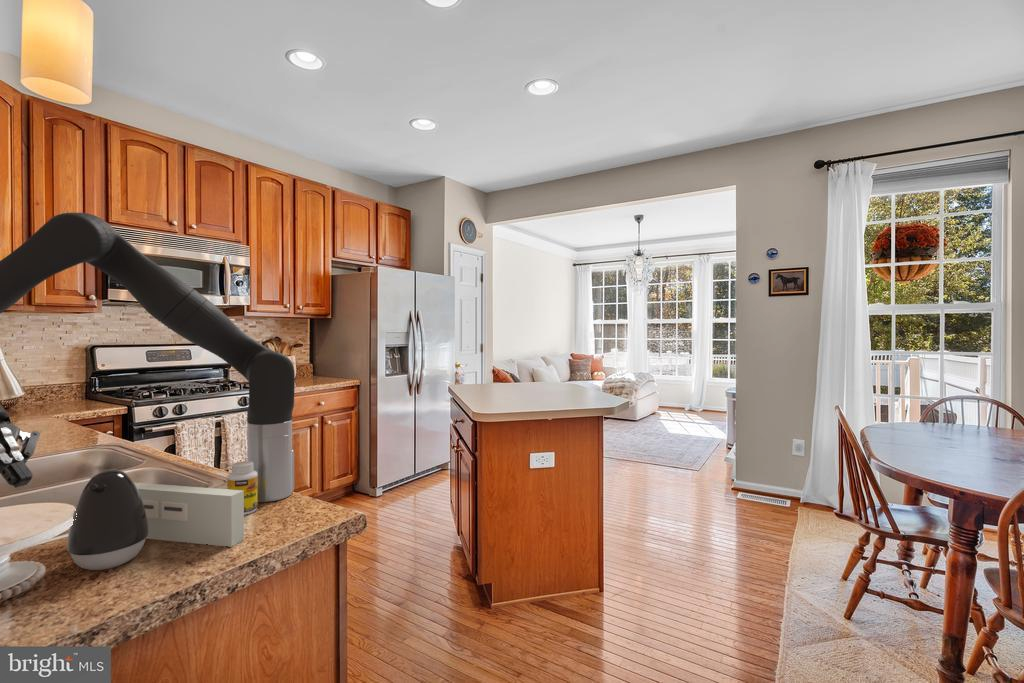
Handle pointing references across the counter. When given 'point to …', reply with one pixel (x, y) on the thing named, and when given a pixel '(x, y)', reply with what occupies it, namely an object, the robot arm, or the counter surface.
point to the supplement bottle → (244, 484)
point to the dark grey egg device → (107, 522)
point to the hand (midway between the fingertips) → (24, 483)
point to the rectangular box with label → (193, 514)
